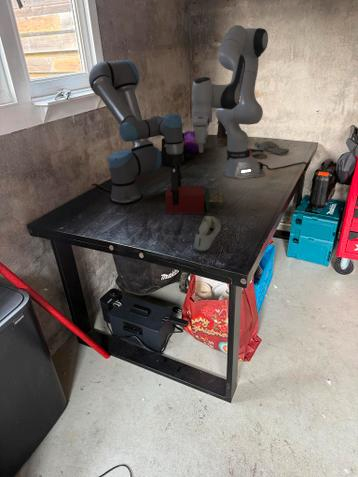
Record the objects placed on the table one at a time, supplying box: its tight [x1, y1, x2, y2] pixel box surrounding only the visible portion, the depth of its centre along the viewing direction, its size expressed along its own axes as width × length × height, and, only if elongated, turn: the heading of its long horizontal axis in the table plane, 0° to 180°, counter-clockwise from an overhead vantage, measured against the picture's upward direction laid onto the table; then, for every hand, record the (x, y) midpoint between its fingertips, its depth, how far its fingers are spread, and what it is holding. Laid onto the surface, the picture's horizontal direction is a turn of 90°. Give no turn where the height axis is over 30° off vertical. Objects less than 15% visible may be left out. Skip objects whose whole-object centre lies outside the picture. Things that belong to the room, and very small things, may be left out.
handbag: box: [160, 132, 188, 167], centre depth 211 cm, size 21×9×25 cm, turn 148°
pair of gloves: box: [247, 140, 290, 159], centre depth 223 cm, size 30×26×5 cm
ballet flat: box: [193, 215, 222, 253], centre depth 127 cm, size 8×24×8 cm, turn 163°
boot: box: [216, 120, 228, 148], centre depth 246 cm, size 9×24×20 cm, turn 168°
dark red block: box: [164, 185, 206, 215], centre depth 152 cm, size 17×11×9 cm, turn 85°
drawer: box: [205, 187, 223, 212], centre depth 151 cm, size 22×10×7 cm, turn 85°
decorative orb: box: [183, 130, 199, 154], centre depth 230 cm, size 15×15×15 cm
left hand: (177, 198), depth 152 cm, fingers open, 12 cm apart
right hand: (202, 149), depth 153 cm, fingers open, 8 cm apart
